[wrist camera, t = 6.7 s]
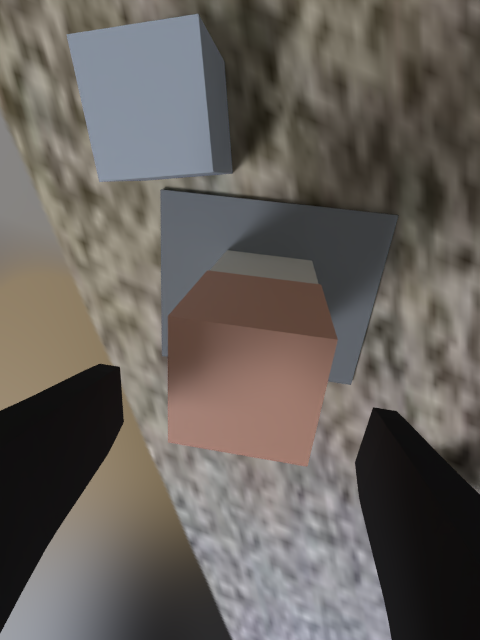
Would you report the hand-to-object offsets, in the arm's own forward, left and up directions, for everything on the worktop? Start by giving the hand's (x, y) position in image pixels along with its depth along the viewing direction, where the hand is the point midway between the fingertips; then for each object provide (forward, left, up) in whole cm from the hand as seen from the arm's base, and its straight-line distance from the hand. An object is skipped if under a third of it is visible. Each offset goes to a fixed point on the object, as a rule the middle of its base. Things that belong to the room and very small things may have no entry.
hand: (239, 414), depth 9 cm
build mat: (0, 0, -10) cm, 10 cm away
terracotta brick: (0, 0, -5) cm, 5 cm away
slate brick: (+5, -8, -10) cm, 14 cm away
